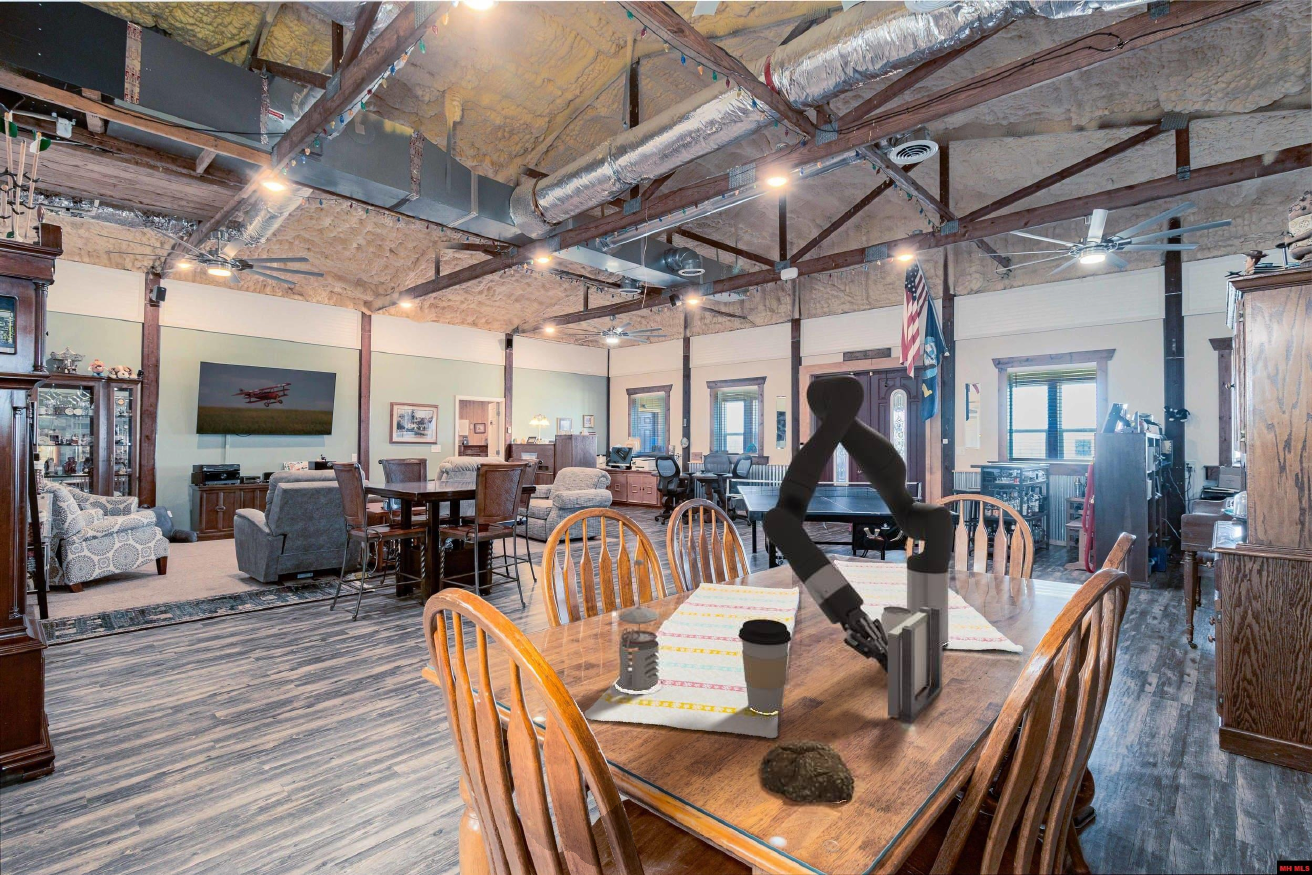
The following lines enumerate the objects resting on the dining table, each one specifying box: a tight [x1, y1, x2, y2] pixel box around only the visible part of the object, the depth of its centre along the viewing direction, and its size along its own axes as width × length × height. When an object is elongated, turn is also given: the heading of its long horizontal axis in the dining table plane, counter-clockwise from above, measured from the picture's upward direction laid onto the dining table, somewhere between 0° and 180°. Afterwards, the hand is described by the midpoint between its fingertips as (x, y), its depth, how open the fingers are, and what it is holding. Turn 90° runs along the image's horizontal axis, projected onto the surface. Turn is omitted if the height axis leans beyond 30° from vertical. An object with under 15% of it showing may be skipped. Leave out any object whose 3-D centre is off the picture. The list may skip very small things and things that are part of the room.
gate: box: [887, 607, 931, 719], centre depth 112 cm, size 19×2×15 cm, turn 140°
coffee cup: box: [738, 618, 792, 714], centre depth 109 cm, size 9×9×15 cm
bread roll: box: [760, 738, 856, 804], centre depth 87 cm, size 13×12×5 cm
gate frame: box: [900, 606, 944, 724], centre depth 111 cm, size 19×2×16 cm, turn 139°
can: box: [880, 605, 912, 651], centre depth 130 cm, size 6×6×12 cm
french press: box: [615, 558, 660, 691], centre depth 119 cm, size 10×12×25 cm
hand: (895, 672), depth 110 cm, fingers closed
